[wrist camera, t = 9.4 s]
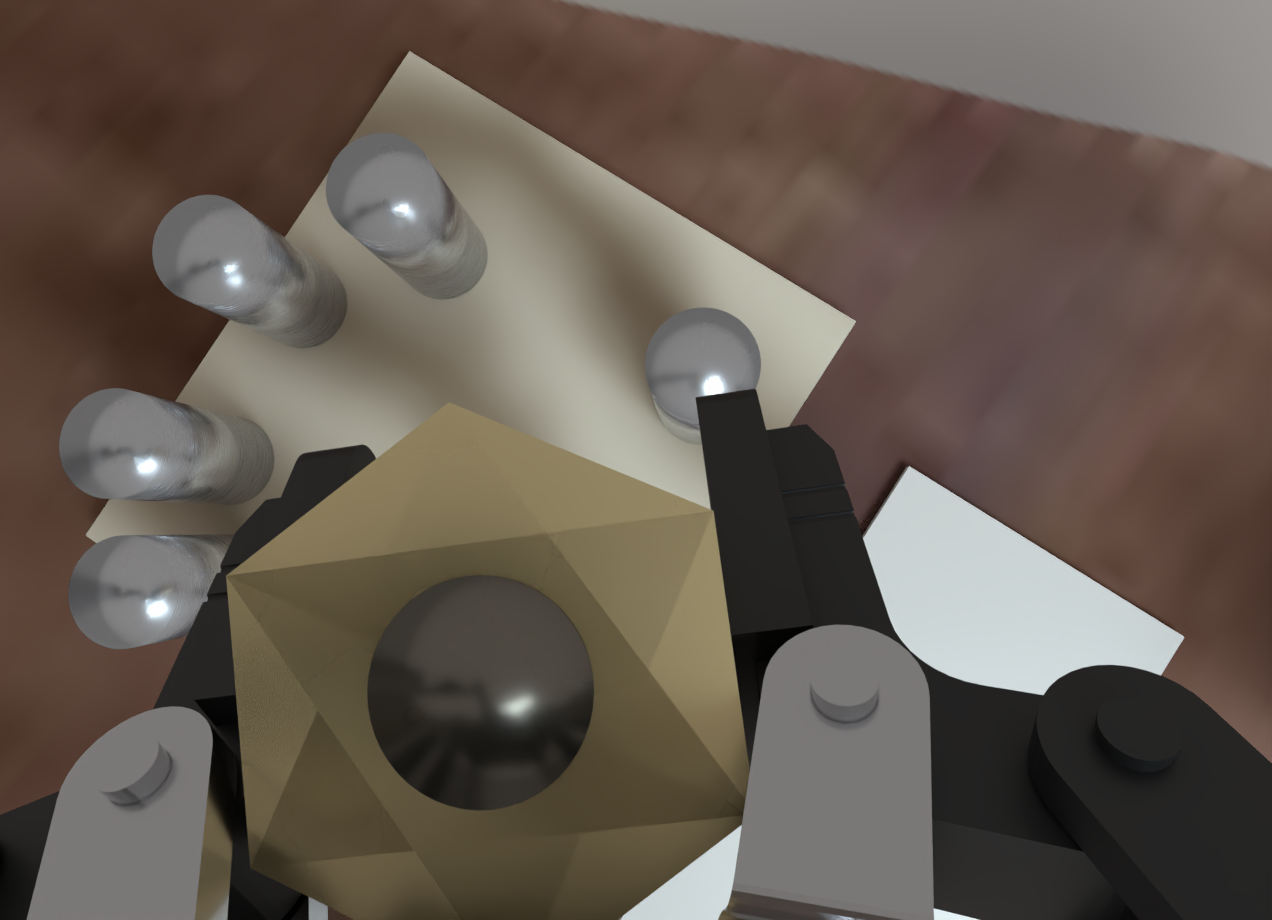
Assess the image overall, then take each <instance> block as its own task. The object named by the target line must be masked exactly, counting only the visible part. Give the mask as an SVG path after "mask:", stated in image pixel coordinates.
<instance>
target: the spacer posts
mask: <svg viewBox="0 0 1272 920" xmlns="http://www.w3.org/2000/svg"><path fill="white" fill-rule="evenodd" d="M326 198H327V203H328V206H329V209H330V211H331V213H332V215H333V217H334V218H335V220H336V221H337V222H338V223H339V224H340V225H341V226H342V227H343V228H344V229H345V230H346V231H347V232H348V233H350V234H351V235H352V236H353V237H354V238H355V239H357V240H358V241H359V242H360V243H361V244H362V245H364V246H365V247H366V248H367V249H368V250H369V251H371V252H372V253H373V254H374V255H375V256H376V257H378V258H379V259H380V260H381V261H382V262H383V263H385V264H386V265H387V266H388V267H389V268H391V269H392V270H393V271H394V272H395V273H396V274H398V275H399V276H400V277H401V278H402V279H403V280H405V281H406V282H407V283H408V284H409V285H410V286H412V287H413V288H414V289H415V290H416V291H418V292H419V293H421V294H422V295H424V296H427V297H429V298H433V299H439V300H447V299H453V298H456V297H459V296H461V295H464V294H465V293H467V292H468V291H470V290H471V289H472V288H473V287H474V286H475V285H476V284H477V283H478V282H479V280H480V279H481V277H482V276H483V274H484V271H485V269H486V265H487V260H488V250H487V244H486V241H485V239H484V236H483V234H482V233H481V231H480V230H479V228H478V227H477V226H476V224H475V223H474V221H473V220H472V219H471V217H470V216H469V214H468V213H467V212H466V210H465V209H464V207H463V206H462V205H461V203H460V202H459V201H458V199H457V198H456V196H455V195H454V194H453V192H452V191H451V189H450V188H449V187H448V185H447V184H446V183H445V181H444V180H443V178H442V177H441V176H440V174H439V173H438V171H437V170H436V169H435V167H434V166H433V165H432V163H431V162H430V160H429V159H428V158H427V156H426V155H425V154H424V152H423V151H422V150H421V149H420V148H419V147H418V146H417V145H416V144H415V143H413V142H412V141H411V140H409V139H407V138H405V137H403V136H400V135H397V134H392V133H373V134H369V135H365V136H362V137H360V138H358V139H356V140H354V141H353V142H351V143H350V144H348V145H347V146H346V147H345V148H344V149H343V150H342V151H341V152H340V153H339V154H338V155H337V157H336V158H335V160H334V161H333V163H332V165H331V167H330V170H329V172H328V176H327V181H326ZM152 256H153V263H154V267H155V270H156V273H157V275H158V277H159V279H160V280H161V282H162V283H163V284H164V285H165V287H166V288H167V289H168V290H170V291H171V292H172V293H173V294H175V295H177V296H178V297H180V298H183V299H185V300H187V301H189V302H191V303H194V304H196V305H198V306H200V307H202V308H205V309H207V310H209V311H211V312H214V313H216V314H218V315H220V316H222V317H225V318H227V319H229V320H231V321H234V322H236V323H238V324H240V325H242V326H245V327H247V328H249V329H251V330H254V331H256V332H258V333H260V334H262V335H265V336H267V337H269V338H271V339H274V340H276V341H278V342H280V343H282V344H285V345H287V346H290V347H293V348H300V349H304V348H312V347H316V346H318V345H321V344H323V343H325V342H326V341H328V340H329V339H330V338H332V337H333V336H334V335H335V334H336V333H337V331H338V330H339V329H340V327H341V325H342V323H343V321H344V319H345V316H346V312H347V295H346V291H345V288H344V286H343V284H342V282H341V280H340V279H339V278H338V276H337V275H336V274H335V273H334V272H332V271H331V270H330V269H328V268H327V267H326V266H324V265H323V264H321V263H320V262H319V261H317V260H316V259H314V258H313V257H312V256H310V255H309V254H307V253H306V252H304V251H303V250H302V249H300V248H299V247H297V246H296V245H295V244H293V243H292V242H290V241H289V240H288V239H286V238H285V237H283V236H282V235H281V234H279V233H278V232H276V231H275V230H274V229H272V228H271V227H269V226H268V225H267V224H265V223H264V222H262V221H261V220H259V219H258V218H257V217H255V216H254V215H252V214H251V213H250V212H248V211H247V210H245V209H244V208H243V207H241V206H240V205H238V204H237V203H236V202H234V201H232V200H230V199H228V198H225V197H222V196H217V195H201V196H195V197H192V198H189V199H187V200H185V201H183V202H181V203H179V204H178V205H176V206H175V207H174V208H173V209H171V210H170V211H169V212H168V213H167V214H166V216H165V217H164V218H163V220H162V221H161V223H160V225H159V226H158V229H157V231H156V233H155V237H154V240H153V247H152ZM760 372H761V357H760V351H759V348H758V344H757V342H756V340H755V338H754V336H753V335H752V333H751V331H750V330H749V329H748V328H747V327H746V325H745V324H744V323H742V322H741V321H740V320H739V319H738V318H736V317H735V316H733V315H731V314H729V313H727V312H725V311H722V310H719V309H714V308H706V307H702V308H692V309H688V310H685V311H682V312H680V313H677V314H675V315H674V316H672V317H670V318H669V319H668V320H666V321H665V322H664V323H663V324H662V325H661V326H660V327H659V328H658V329H657V331H656V332H655V333H654V335H653V337H652V338H651V340H650V343H649V345H648V348H647V352H646V356H645V374H646V379H647V382H648V385H649V389H650V392H651V395H652V398H653V401H654V404H655V407H656V410H657V413H658V416H659V418H660V420H661V422H662V424H663V425H664V426H665V428H666V429H667V430H668V431H669V432H670V433H671V434H672V435H673V436H675V437H676V438H678V439H680V440H682V441H684V442H687V443H690V444H696V445H702V442H701V435H700V428H699V420H698V413H697V405H696V398H695V397H700V396H707V395H714V394H721V393H728V392H735V391H742V390H749V389H756V386H757V384H758V381H759V377H760ZM59 452H60V459H61V463H62V466H63V468H64V470H65V472H66V474H67V476H68V477H69V479H70V480H71V481H72V482H73V484H74V485H75V486H77V487H78V488H79V489H80V490H82V491H83V492H85V493H87V494H89V495H91V496H94V497H98V498H104V499H119V500H138V501H157V502H176V503H195V504H214V505H238V504H242V503H245V502H247V501H249V500H251V499H253V498H254V497H256V496H257V495H258V494H259V493H260V492H261V491H262V490H263V489H264V488H265V487H266V485H267V484H268V482H269V480H270V478H271V475H272V472H273V469H274V450H273V446H272V443H271V441H270V439H269V437H268V435H267V434H266V433H265V431H264V430H263V429H262V428H261V427H260V426H258V425H257V424H256V423H254V422H252V421H250V420H247V419H244V418H240V417H236V416H232V415H228V414H224V413H220V412H216V411H212V410H208V409H204V408H200V407H196V406H192V405H187V404H183V403H179V402H175V401H171V400H167V399H163V398H159V397H155V396H151V395H147V394H143V393H139V392H135V391H131V390H127V389H120V388H110V389H104V390H100V391H97V392H95V393H93V394H90V395H89V396H87V397H86V398H84V399H83V400H81V401H80V402H79V403H78V404H77V405H76V406H75V407H74V408H73V409H72V411H71V412H70V413H69V415H68V417H67V418H66V420H65V422H64V425H63V427H62V431H61V434H60V440H59ZM234 535H235V534H202V535H119V536H113V537H110V538H107V539H104V540H102V541H100V542H98V543H97V544H95V545H94V546H92V547H91V548H90V549H88V550H87V552H86V553H85V554H84V555H83V556H82V557H81V558H80V560H79V561H78V563H77V565H76V566H75V568H74V571H73V573H72V576H71V579H70V584H69V594H68V597H69V605H70V610H71V613H72V616H73V618H74V620H75V622H76V624H77V626H78V627H79V629H80V630H81V631H82V632H83V633H84V634H85V635H86V636H87V637H88V638H89V639H90V640H92V641H94V642H95V643H97V644H99V645H101V646H104V647H108V648H113V649H128V648H133V647H138V646H143V645H148V644H153V643H157V642H162V641H167V640H172V639H177V638H181V637H186V636H187V635H188V633H189V631H190V629H191V627H192V625H193V623H194V620H195V618H196V616H197V614H198V612H199V610H200V608H201V605H202V603H203V602H207V600H208V597H207V593H208V590H209V588H210V586H211V584H212V582H213V580H214V578H215V575H216V573H220V572H221V568H220V565H221V563H222V560H223V558H224V556H225V554H226V552H227V550H228V548H229V545H230V543H231V541H232V539H233V537H234Z"/></svg>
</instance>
